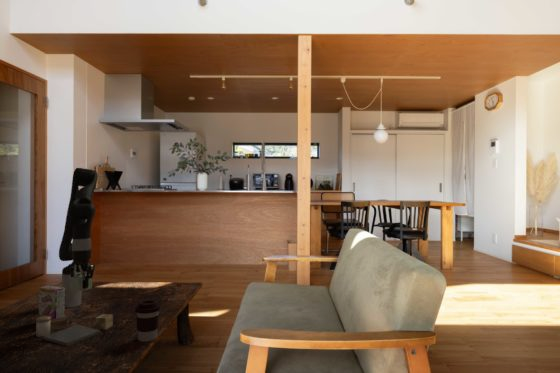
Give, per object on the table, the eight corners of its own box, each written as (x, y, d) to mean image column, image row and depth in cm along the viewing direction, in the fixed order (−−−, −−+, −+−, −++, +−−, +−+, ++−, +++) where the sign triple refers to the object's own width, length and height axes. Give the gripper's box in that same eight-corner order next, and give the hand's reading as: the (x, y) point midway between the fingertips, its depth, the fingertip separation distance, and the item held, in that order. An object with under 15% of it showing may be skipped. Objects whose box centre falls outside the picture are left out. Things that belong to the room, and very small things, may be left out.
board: (43, 339, 150) (43, 336, 150) (77, 327, 164) (77, 324, 164) (67, 346, 144) (67, 342, 144) (100, 333, 157) (100, 330, 157)
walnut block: (48, 329, 162) (48, 320, 162) (63, 326, 166) (64, 317, 166) (51, 331, 159) (51, 322, 159) (66, 328, 163) (66, 319, 163)
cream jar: (32, 335, 154) (33, 318, 154) (45, 331, 159) (45, 315, 159) (40, 337, 152) (41, 320, 152) (53, 333, 157) (54, 316, 157)
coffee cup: (145, 345, 145) (145, 307, 145) (129, 340, 150) (129, 303, 150) (165, 337, 153) (165, 301, 153) (149, 332, 158) (150, 297, 159)
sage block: (70, 291, 159) (70, 277, 159) (84, 287, 166) (85, 274, 166) (77, 292, 157) (77, 277, 158) (91, 288, 164) (92, 274, 164)
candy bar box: (37, 323, 168) (38, 287, 169) (47, 320, 173) (48, 285, 173) (55, 326, 165) (56, 289, 165) (65, 323, 169) (66, 287, 170)
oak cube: (95, 329, 162) (95, 317, 162) (102, 325, 167) (102, 314, 167) (105, 329, 161) (105, 318, 161) (112, 325, 166) (112, 314, 166)
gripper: (62, 249, 161) (62, 288, 161) (85, 250, 156) (85, 291, 155) (78, 247, 168) (77, 284, 168) (100, 248, 163) (100, 287, 162)
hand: (81, 287), depth 161 cm, fingers closed on sage block, 4 cm apart
